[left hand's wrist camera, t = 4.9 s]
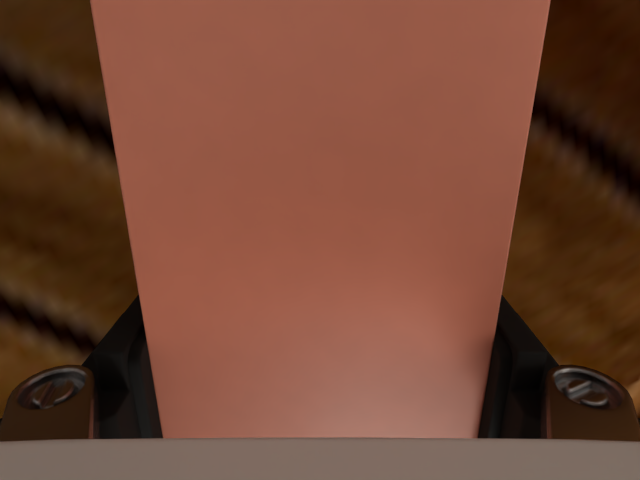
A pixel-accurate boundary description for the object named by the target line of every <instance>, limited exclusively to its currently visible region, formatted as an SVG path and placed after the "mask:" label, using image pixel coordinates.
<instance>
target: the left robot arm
mask: <svg viewBox="0 0 640 480" xmlns="http://www.w3.org/2000/svg"><path fill="white" fill-rule="evenodd" d="M0 480H640V419H639V418H637V414H636V411H635V407H634V404H633V401H632V398H631V396H630V394H629V393H628V391H627V390H626V389H625V388H624V387H623V386H622V385H621V384H620V383H619V382H617V381H616V380H614V379H613V378H611V377H609V376H608V375H605V374H603V373H601V372H599V371H597V370H593V369H590V368H587V367H583V366H576V365H560V366H559V365H558V364H557V362H556V361H555V360H554V359H553V357H552V356H551V355H550V354H549V352H548V351H547V350H546V349H545V347H544V346H543V345H542V344H541V342H540V341H539V340H538V339H537V337H536V336H535V335H534V334H533V332H532V331H531V330H530V329H529V327H528V326H527V325H526V324H525V322H524V321H523V320H522V319H521V317H520V316H519V315H518V314H517V313H516V312H515V311H514V309H513V308H512V307H511V306H510V304H509V303H508V302H507V301H506V299H505V298H504V297H503V296H502V295H501V301H500V307H499V313H498V319H497V325H496V331H495V337H494V343H493V349H492V355H491V361H490V367H489V373H488V379H487V385H486V391H485V397H484V403H483V409H482V415H481V421H480V427H479V433H478V438H380V437H262V438H163V436H162V430H161V424H160V418H159V412H158V406H157V400H156V394H155V388H154V382H153V376H152V370H151V364H150V358H149V352H148V346H147V340H146V334H145V328H144V322H143V316H142V310H141V304H140V298H139V295H138V296H137V297H136V299H135V300H134V301H133V302H132V304H131V305H130V306H129V307H128V309H127V310H126V311H125V312H124V313H123V314H122V315H121V317H120V318H119V319H118V320H117V322H116V323H115V324H114V325H113V327H112V328H111V329H110V330H109V332H108V333H107V334H106V335H105V337H104V338H103V339H102V340H101V342H100V343H99V344H98V345H97V347H96V348H95V349H94V350H93V352H92V353H91V354H90V355H89V357H88V358H87V359H86V360H85V362H84V363H83V364H82V365H81V366H80V365H64V366H57V367H53V368H50V369H47V370H43V371H41V372H39V373H37V374H35V375H32V376H31V377H29V378H27V379H26V380H24V381H23V382H21V383H20V384H19V385H18V386H17V387H16V388H15V389H14V390H13V391H12V393H11V394H10V396H9V398H8V401H7V404H6V407H5V411H4V414H3V418H1V419H0Z"/></svg>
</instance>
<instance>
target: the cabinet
mask: <svg viewBox="0 0 640 480" xmlns="http://www.w3.org/2000/svg"><path fill="white" fill-rule="evenodd" d="M90 3H91V9H92V15H93V21H94V28H95V34H96V40H97V46H98V52H99V58H100V64H101V70H102V76H103V82H104V88H105V94H106V100H107V106H108V112H109V118H110V124H111V130H112V136H113V142H114V148H115V154H116V160H117V166H118V172H119V178H120V184H121V190H122V196H123V202H124V208H125V214H126V220H127V226H128V232H129V238H130V244H131V250H132V256H133V262H134V268H135V274H136V280H137V286H138V292H139V298H140V304H141V310H142V316H143V322H144V328H145V334H146V340H147V346H148V352H149V358H150V364H151V370H152V376H153V382H154V388H155V394H156V400H157V406H158V412H159V418H160V424H161V430H162V436H163V438H262V437H380V438H478V433H479V427H480V421H481V415H482V409H483V403H484V397H485V391H486V385H487V379H488V373H489V367H490V361H491V355H492V349H493V343H494V337H495V331H496V325H497V319H498V313H499V307H500V301H501V295H502V289H503V283H504V277H505V271H506V265H507V259H508V253H509V247H510V241H511V235H512V229H513V223H514V217H515V211H516V205H517V199H518V193H519V187H520V181H521V175H522V169H523V163H524V157H525V151H526V145H527V139H528V133H529V127H530V121H531V115H532V109H533V103H534V97H535V91H536V85H537V79H538V73H539V67H540V60H541V54H542V48H543V42H544V36H545V30H546V24H547V18H548V12H549V6H550V0H90Z"/></svg>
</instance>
